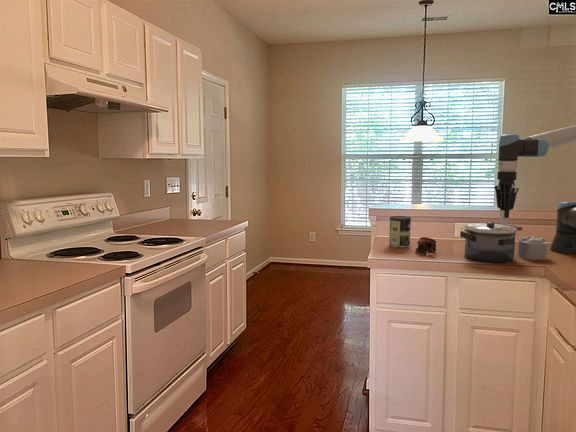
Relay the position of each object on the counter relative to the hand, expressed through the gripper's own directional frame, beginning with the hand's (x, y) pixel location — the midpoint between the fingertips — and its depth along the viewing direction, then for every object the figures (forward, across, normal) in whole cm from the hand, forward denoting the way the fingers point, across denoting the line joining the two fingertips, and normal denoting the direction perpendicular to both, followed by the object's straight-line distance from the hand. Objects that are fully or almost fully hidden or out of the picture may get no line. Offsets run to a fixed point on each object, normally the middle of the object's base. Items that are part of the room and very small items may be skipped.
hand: (504, 224), depth 210 cm
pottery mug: (+15, -16, -28) cm, 35 cm away
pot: (+14, 0, -8) cm, 17 cm away
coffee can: (+15, -34, -33) cm, 49 cm away
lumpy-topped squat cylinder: (+15, +1, +14) cm, 20 cm away
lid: (+2, 0, -5) cm, 6 cm away
